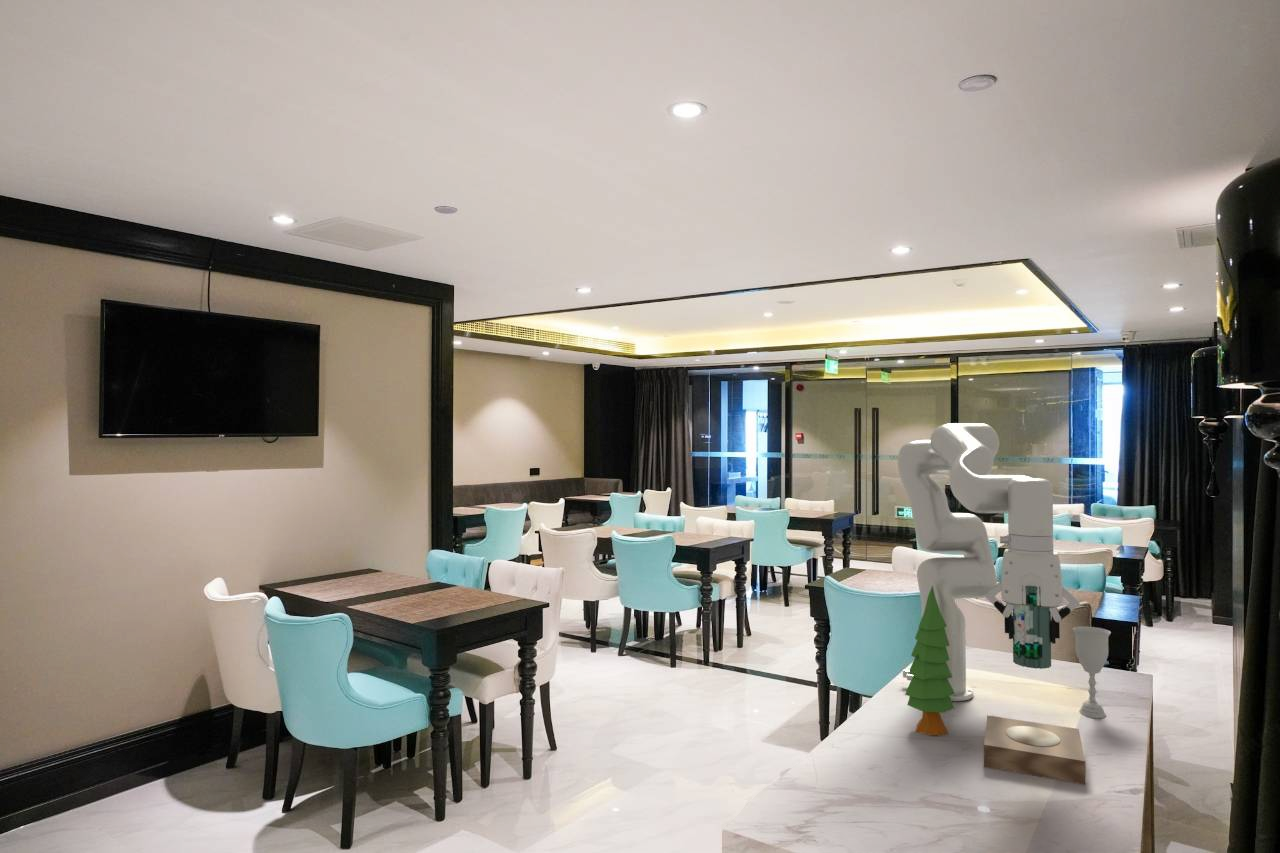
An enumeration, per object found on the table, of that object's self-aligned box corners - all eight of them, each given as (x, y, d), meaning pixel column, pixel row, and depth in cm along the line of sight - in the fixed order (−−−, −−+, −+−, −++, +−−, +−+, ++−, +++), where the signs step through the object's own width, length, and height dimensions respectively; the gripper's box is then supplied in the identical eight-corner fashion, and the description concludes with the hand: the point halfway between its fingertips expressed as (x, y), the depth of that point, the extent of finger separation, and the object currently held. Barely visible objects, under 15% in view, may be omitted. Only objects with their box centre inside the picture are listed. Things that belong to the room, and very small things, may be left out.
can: (1006, 660, 143) (1005, 581, 144) (1032, 657, 145) (1031, 579, 145) (1032, 669, 137) (1031, 587, 138) (1058, 666, 139) (1057, 585, 140)
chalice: (1102, 708, 167) (1101, 626, 167) (1118, 719, 160) (1117, 634, 160) (1067, 707, 167) (1066, 626, 167) (1082, 718, 160) (1081, 634, 161)
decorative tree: (937, 742, 148) (936, 590, 149) (894, 728, 156) (893, 583, 156) (962, 730, 155) (960, 583, 155) (919, 717, 162) (918, 577, 162)
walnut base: (984, 766, 138) (983, 743, 138) (987, 735, 152) (987, 714, 152) (1085, 784, 130) (1085, 759, 130) (1078, 749, 145) (1078, 727, 145)
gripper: (979, 543, 142) (980, 639, 142) (1085, 549, 134) (1086, 650, 134) (981, 538, 149) (982, 629, 149) (1082, 544, 141) (1083, 640, 141)
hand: (1031, 638), depth 141 cm, fingers closed on can, 6 cm apart
